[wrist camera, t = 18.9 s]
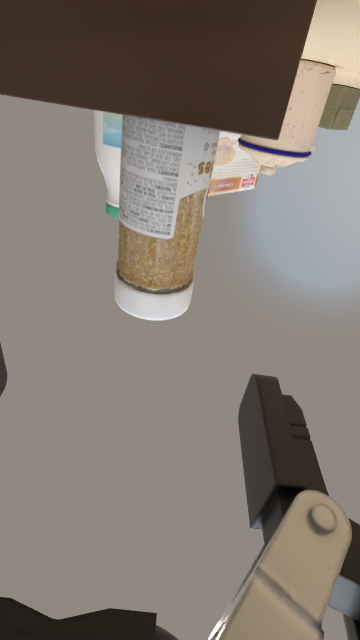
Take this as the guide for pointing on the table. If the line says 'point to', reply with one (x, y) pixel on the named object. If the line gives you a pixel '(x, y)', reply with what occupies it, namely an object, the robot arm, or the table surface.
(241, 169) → the coffeecake box
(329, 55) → the table surface
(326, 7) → the table surface
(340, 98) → the tissue box
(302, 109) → the teacup with lid
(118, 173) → the milk bottle
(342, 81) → the table surface
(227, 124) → the holder
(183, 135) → the sprinkles bottle
